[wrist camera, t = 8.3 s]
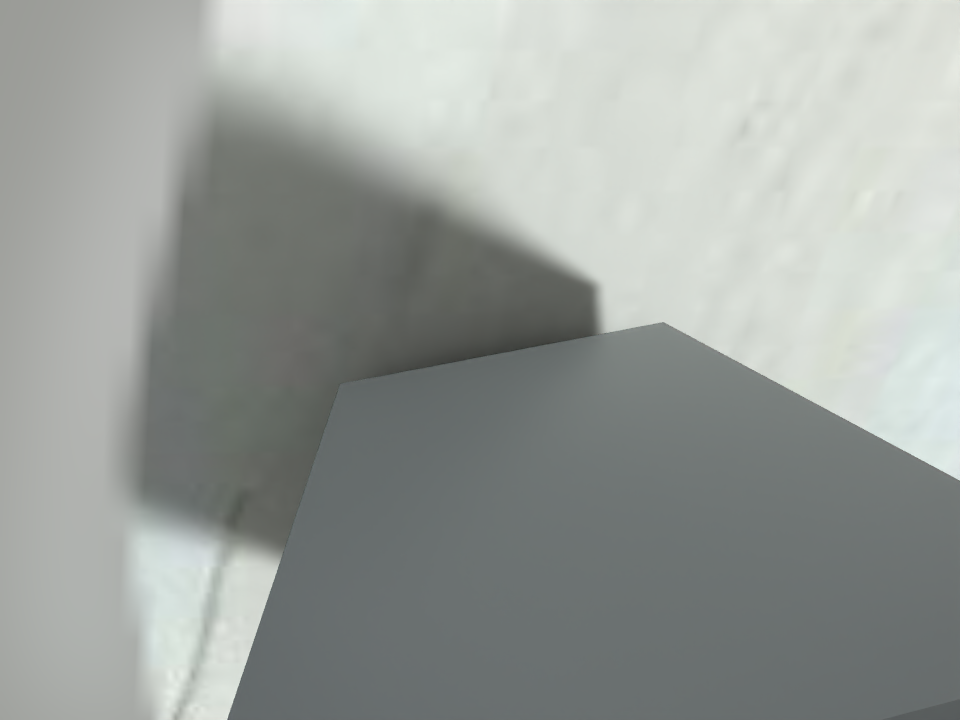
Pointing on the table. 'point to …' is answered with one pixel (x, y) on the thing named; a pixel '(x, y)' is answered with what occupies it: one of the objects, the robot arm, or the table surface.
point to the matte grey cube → (608, 550)
